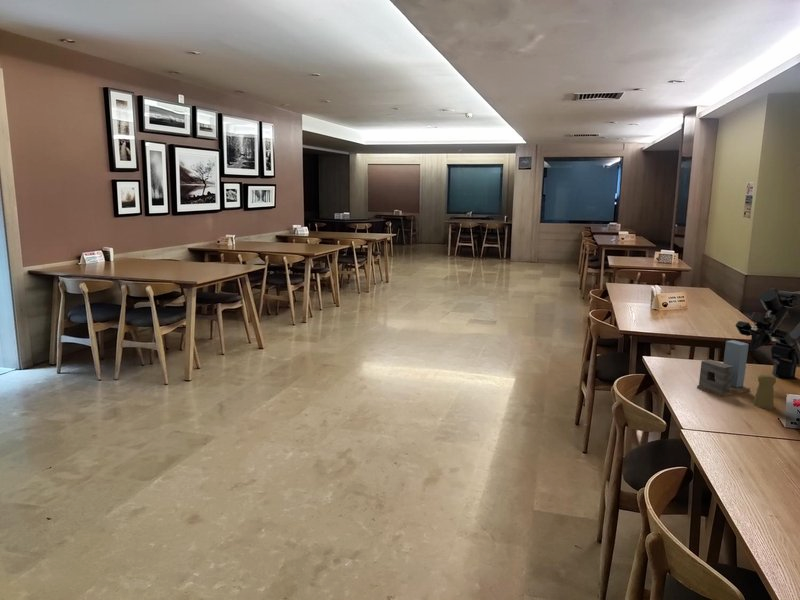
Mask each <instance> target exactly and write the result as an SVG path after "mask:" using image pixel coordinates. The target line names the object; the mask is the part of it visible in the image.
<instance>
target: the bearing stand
mask: <svg viewBox="0 0 800 600" xmlns="http://www.w3.org/2000/svg"><path fill="white" fill-rule="evenodd" d="M699 370H700V372H699V379H698V380H699V381H698V385H696V389H698V390H700V391H701V390H702V391H705V392H707V393H710V394H713V395H715V396H718V397H721V398H724V397H729V396H733V395H737V394H741V393H745V392H750V391H751V387H747V386H745V385H743V386H741V387H737V388H736V387H733V386H730V385H731V378H732V370H733V366H730V365H727V364H723V362H720V361H716V360H713V359H705V360H701V361H700V369H699ZM715 373H716V377H715V376H714V374H715Z"/></svg>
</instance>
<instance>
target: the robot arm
mask: <svg viewBox="0 0 800 600" xmlns="http://www.w3.org/2000/svg"><path fill="white" fill-rule="evenodd" d="M758 298H759V300H760V302H761V304H762V306H763V308H764V309H765V310H767V312H765V313H761V312H756V311H753V313H752V316H751V317H750V321H752V322H754V325H751V323H750V322H748V321H744V320H743V321H742V320H738V321H737V322H736V324H735V327H736V329H737V330H738V332H739V334H741V336H742V335H743V336H746V337H749V336H751V339H750V344H749V350H750V351H752V352H753V351H755V350H757V349H759V348H761V347H763V346H766V345H769V344H772V346H771V348H770V349H771V350H770V351H771V352H770V353H771V359H772V360H775V363H773V369H772V371H771V374H772V375H773V376H775V377H776V378H779V379H790V380H791V379H793V380H798V379H797V378H798V377H797V376H796V372H797V371H796V370H797V366H799V365H800V322H799V323H798V324H797V325H796V326H795V328H794V329H793V330H792V331H791V332H790V333H789V331H787V330H784V329H780V328H781V327H782V326H781V324H782V321H783V320H784V319H785V318H789V317H790V313H789V310H788V308H791V309H795V308H797V307H799V306H800V290H798V291H786V290H785V291H784V290H778V289H777V288H775V287H770V289H767V290H763V292H761V293H759V296H758ZM774 339H776V340H775V341H774Z"/></svg>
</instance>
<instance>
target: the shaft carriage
mask: <svg viewBox="0 0 800 600" xmlns="http://www.w3.org/2000/svg"><path fill="white" fill-rule="evenodd" d="M749 347H750V344H749V343H746V342H744V341H743V342H741V341H738V340H733V339H731V340H725V347H724V354H723V355H724V356H723V362H722V363H723V364H727V365H730V366H733V370H732V378H731V385H730V386H733V387H736V388H737V387H741V386H744V382H745V377H746V376H745V375H746V369H747V361H748V353H749ZM714 376H715V378H716V373H715V374H714Z"/></svg>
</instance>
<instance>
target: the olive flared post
mask: <svg viewBox="0 0 800 600" xmlns="http://www.w3.org/2000/svg"><path fill="white" fill-rule="evenodd" d="M757 380H758V381H757V382H758V385H757V389H756V393H755V396H754V400H753V402H752V404H753V406H754V407H758V408H761V409H767V410H768V409H774V408H775V406H774V405H775V403H774V402H775V397H774V395H775V394H774V389H775V388H774V385H775V384H776V382H777V377H776V375H774V374H772V373H770V374H769V373H760V374H759V375H758V377H757Z"/></svg>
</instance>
